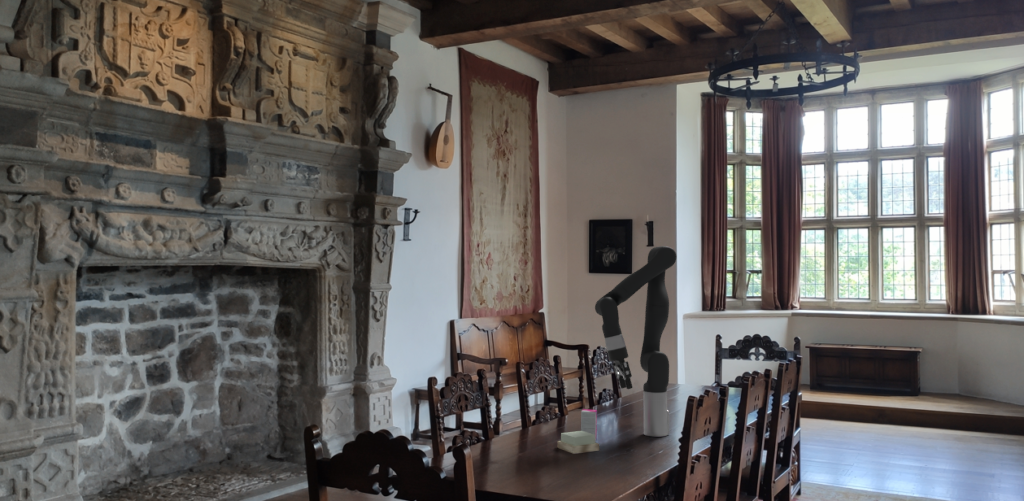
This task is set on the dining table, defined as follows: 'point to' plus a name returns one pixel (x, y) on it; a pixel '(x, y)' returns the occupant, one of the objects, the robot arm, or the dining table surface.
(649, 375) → the robot arm
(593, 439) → the sage top block
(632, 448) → the dining table surface
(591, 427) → the supplement box
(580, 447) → the birch base block
